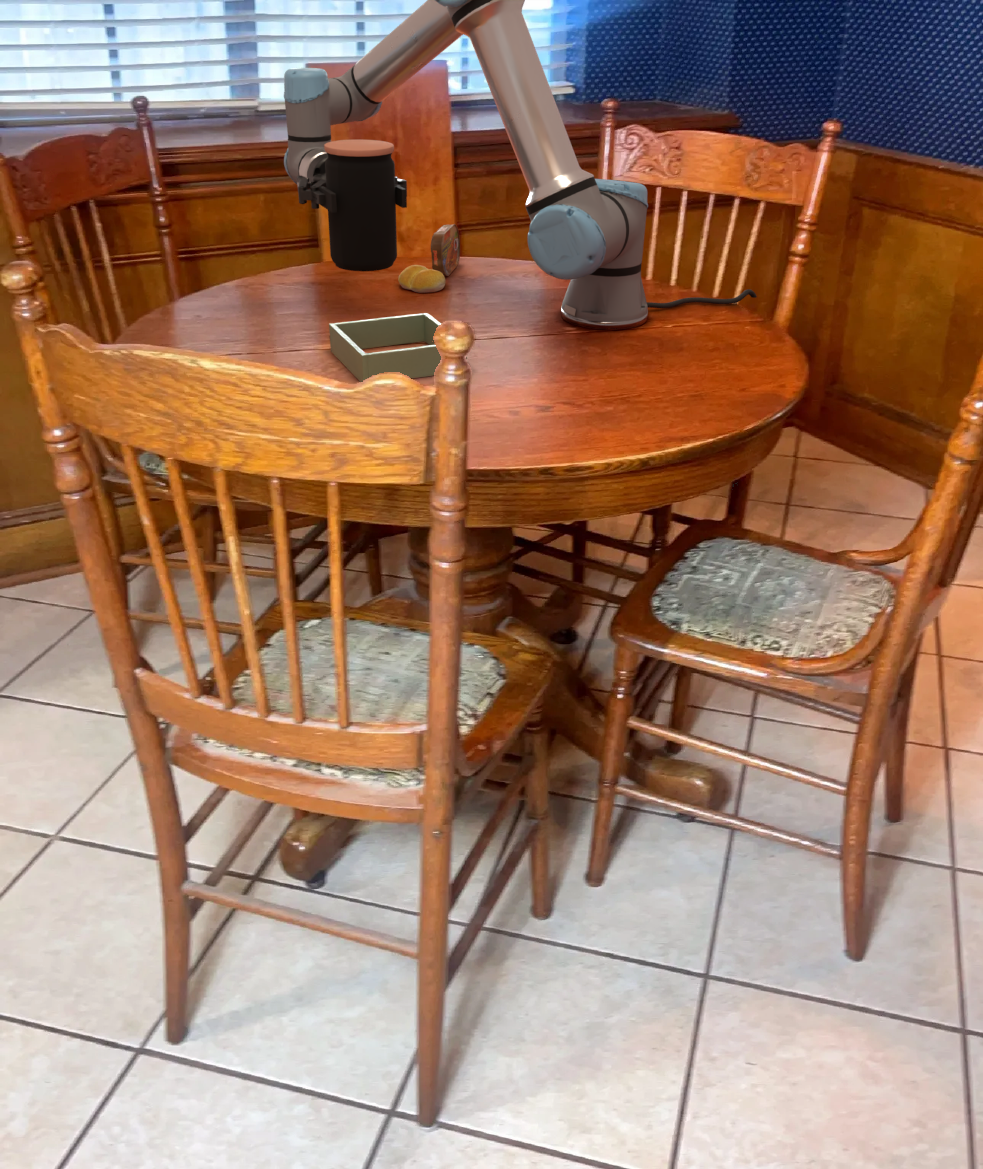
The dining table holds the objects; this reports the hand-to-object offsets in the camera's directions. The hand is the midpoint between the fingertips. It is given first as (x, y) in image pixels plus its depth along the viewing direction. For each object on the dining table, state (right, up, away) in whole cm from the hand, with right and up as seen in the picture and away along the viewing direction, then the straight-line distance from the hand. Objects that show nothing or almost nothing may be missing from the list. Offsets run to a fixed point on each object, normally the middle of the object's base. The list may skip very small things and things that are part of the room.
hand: (369, 201), depth 159 cm
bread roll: (+5, -2, +40) cm, 40 cm away
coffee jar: (-2, -7, +9) cm, 11 cm away
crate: (+4, -24, +3) cm, 24 cm away
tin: (+9, +5, +51) cm, 52 cm away
